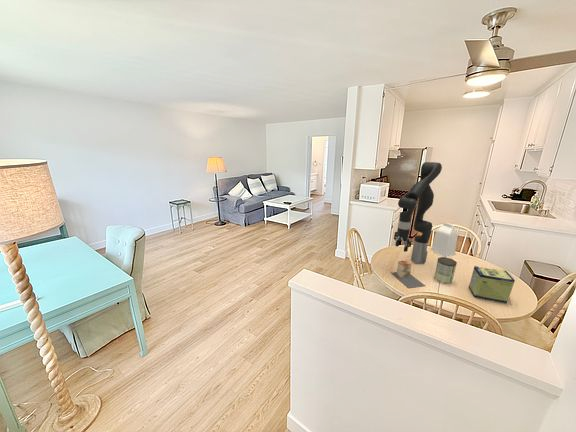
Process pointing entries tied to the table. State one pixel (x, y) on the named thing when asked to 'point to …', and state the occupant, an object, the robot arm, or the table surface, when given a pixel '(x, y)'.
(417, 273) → the table surface
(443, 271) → the coffee can
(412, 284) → the mat
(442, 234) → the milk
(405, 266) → the block
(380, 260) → the table surface
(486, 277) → the protein box
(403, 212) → the robot arm
